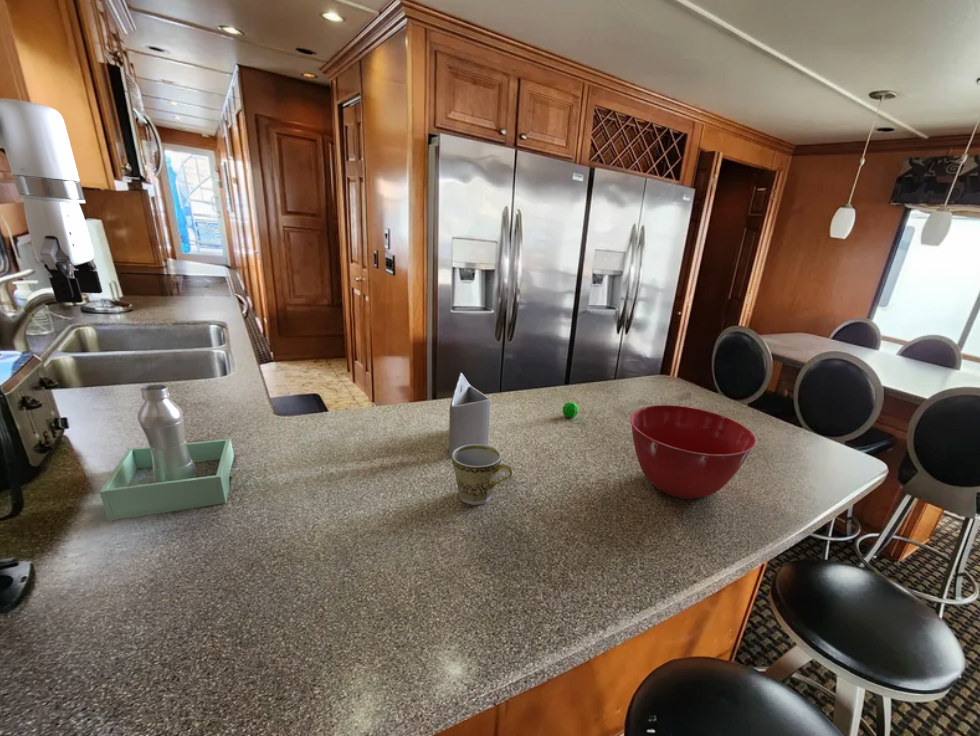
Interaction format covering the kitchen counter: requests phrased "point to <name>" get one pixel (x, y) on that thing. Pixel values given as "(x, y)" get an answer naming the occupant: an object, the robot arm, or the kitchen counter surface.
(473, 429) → the planter
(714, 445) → the mixing bowl
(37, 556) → the kitchen counter surface
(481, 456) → the ceramic cup
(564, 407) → the polyhedron
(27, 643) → the kitchen counter surface
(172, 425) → the plastic bottle
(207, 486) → the mint green tray frame
